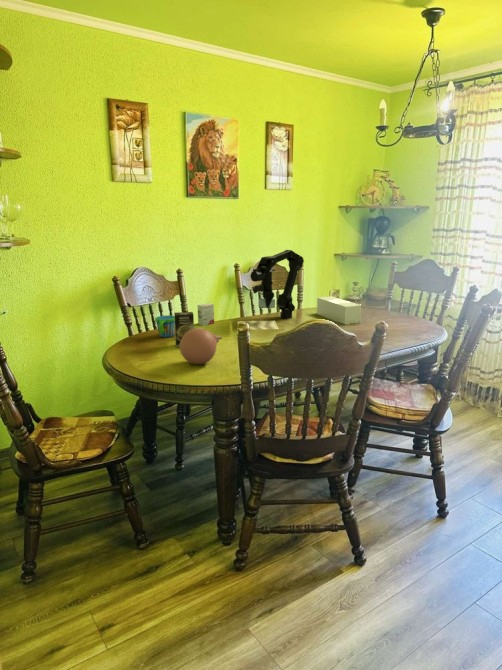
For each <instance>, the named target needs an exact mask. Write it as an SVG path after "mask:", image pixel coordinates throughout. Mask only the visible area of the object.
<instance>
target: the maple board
mask: <svg viewBox="0 0 502 670" xmlns="http://www.w3.org/2000/svg"><path fill="white" fill-rule="evenodd" d="M242 322H245V323H248V324H249V329H250V330H249V331H252V330H253V331H254V330H259V331H261V330H279V329H280V328H279V327H278V324H277V323H276V320H245V321H244V320H242V321H241V320H239V321H237V322H236V323H237V325H238V324H239V323H242Z"/></svg>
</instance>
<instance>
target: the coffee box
mask: <svg viewBox="0 0 502 670" xmlns="http://www.w3.org/2000/svg"><path fill="white" fill-rule="evenodd" d="M173 316H174V317H175V328H174V335H175V336H174V337H175V338H174V341H175V348H180V342H181V339H182V337H183V336H184V334H185V333H186V332H188V331H189V330H191V329H195V321H194V318H195V317H194V312H193V311H187V312H186V311H183V312H182V311H180V312H174V315H173Z"/></svg>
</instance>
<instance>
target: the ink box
mask: <svg viewBox="0 0 502 670" xmlns="http://www.w3.org/2000/svg"><path fill="white" fill-rule="evenodd" d="M197 324H198V325H200V326H201V327H203V326H207V325H213V324H215V305H214V303H210V302H208V303H202V304H201V303H200V304H197Z"/></svg>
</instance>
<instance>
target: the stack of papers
mask: <svg viewBox="0 0 502 670" xmlns="http://www.w3.org/2000/svg"><path fill="white" fill-rule="evenodd" d="M316 315H319V316H322V317H324V318H326V319H329V320H331V321H335V322H337V323H339V322H340V324H342V323H343V324H342V325H344V324H346V325H351V324H350V323H355V324H361V319H362V318H361V316H362V304H358V303H355V302H353V301H348V300H345V299H342V298H338V297H335V296H333V295H332V296H331V295H330V296H319V297H317V298H316Z"/></svg>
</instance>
